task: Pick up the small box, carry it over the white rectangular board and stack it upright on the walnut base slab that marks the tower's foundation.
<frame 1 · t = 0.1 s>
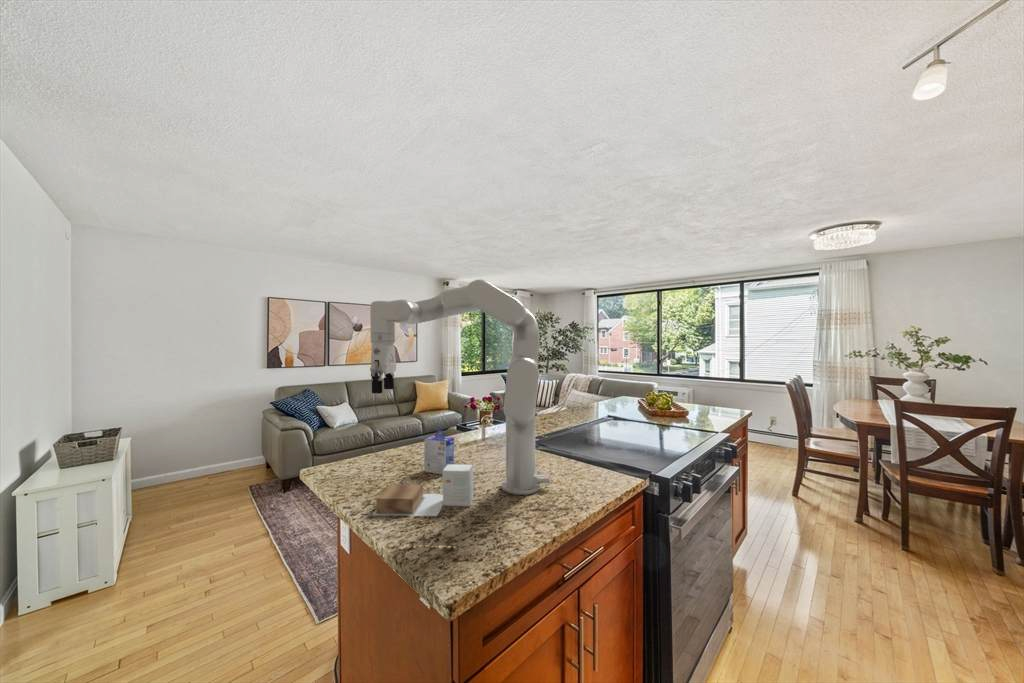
hand: (383, 391, 122), 31 cm above the worktop, fingers open, 9 cm apart
white rectangular board: (412, 505, 107), on the worktop
base slab: (400, 505, 107), resting on white rectangular board
ink cartridge box: (439, 471, 135), on the worktop
small box: (458, 503, 109), on the worktop
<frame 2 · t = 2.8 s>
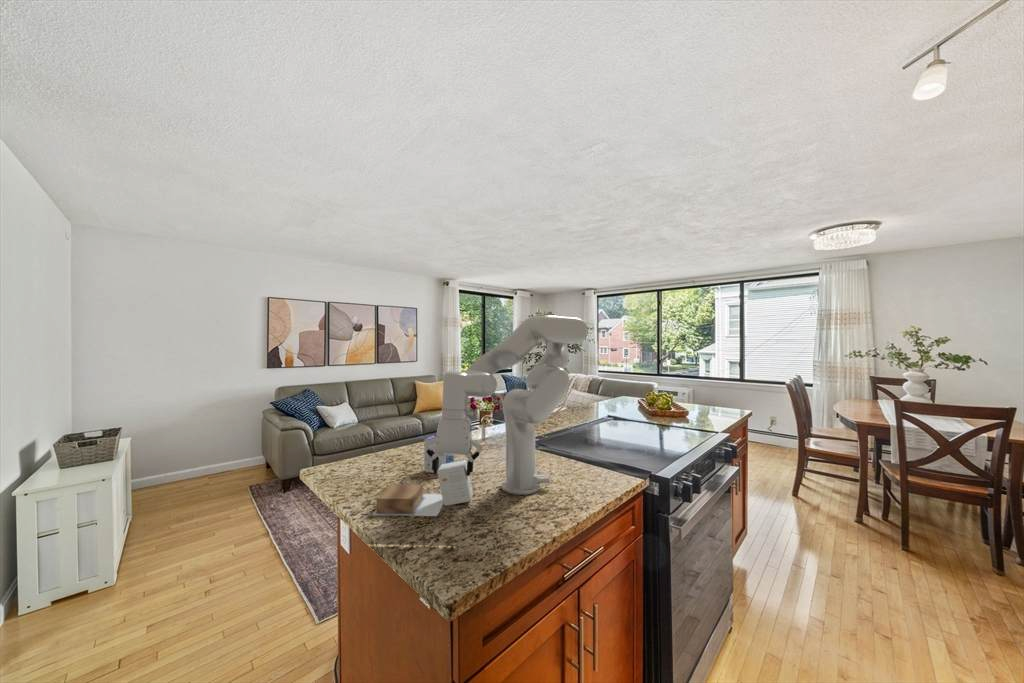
hand: (452, 473, 108), 9 cm above the worktop, fingers open, 9 cm apart
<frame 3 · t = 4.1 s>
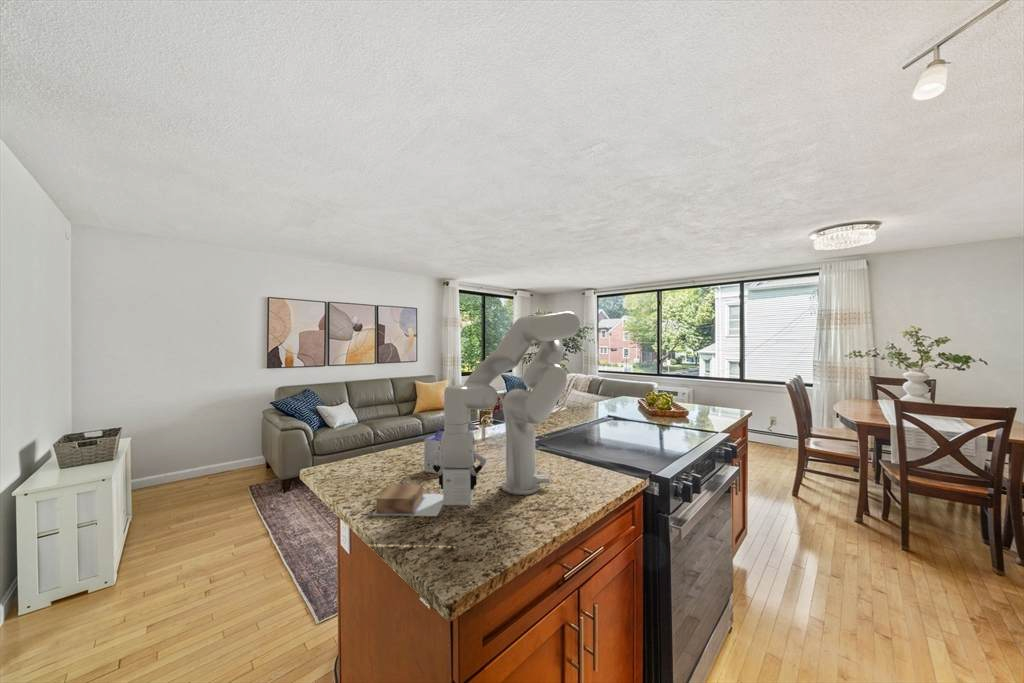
hand: (457, 487, 109), 5 cm above the worktop, fingers closed on small box, 8 cm apart
small box: (458, 503, 109), on the worktop, touching gripper
everything else where it was.
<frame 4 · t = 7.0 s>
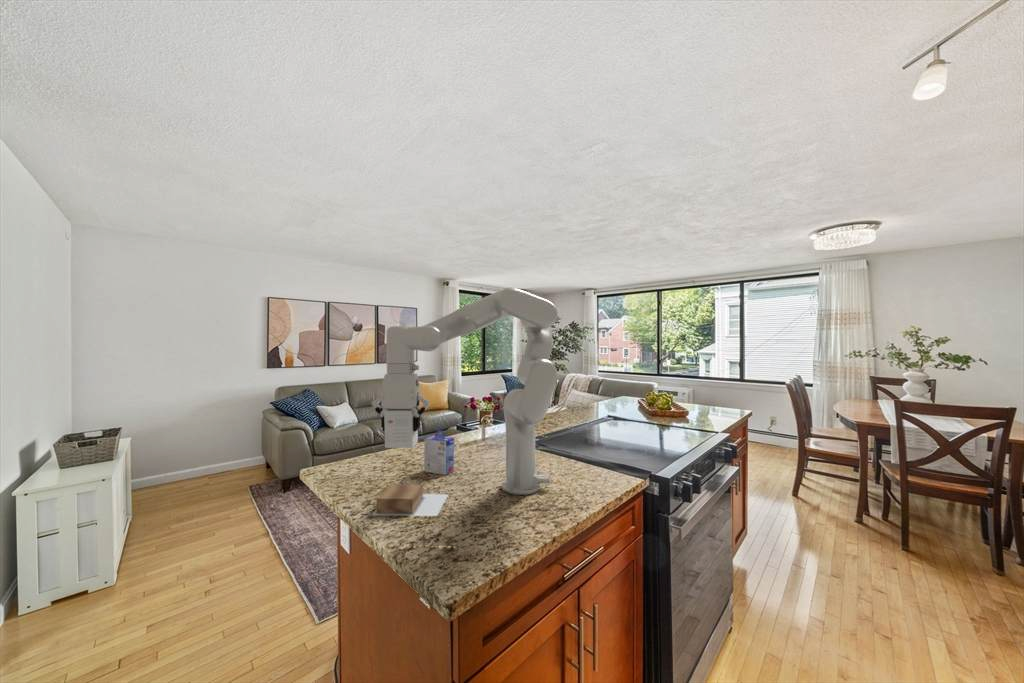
hand: (400, 429, 106), 22 cm above the worktop, fingers closed on small box, 8 cm apart
small box: (401, 446, 107), point 17 cm above the worktop, touching gripper
everything else where it was.
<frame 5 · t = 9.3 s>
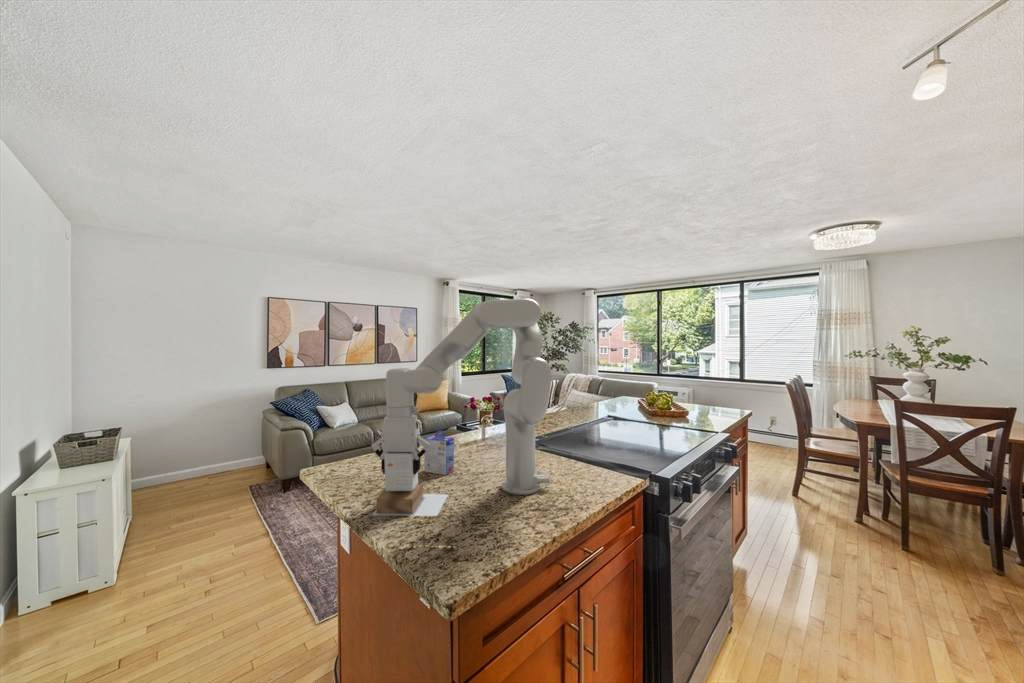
hand: (401, 472, 107), 10 cm above the worktop, fingers closed on small box, 8 cm apart
small box: (401, 488, 107), point 5 cm above the worktop, touching gripper
everything else where it was.
when the fingers open (10 cm above the worktop, at t = 10.3 s): small box stays where it is, resting on base slab.
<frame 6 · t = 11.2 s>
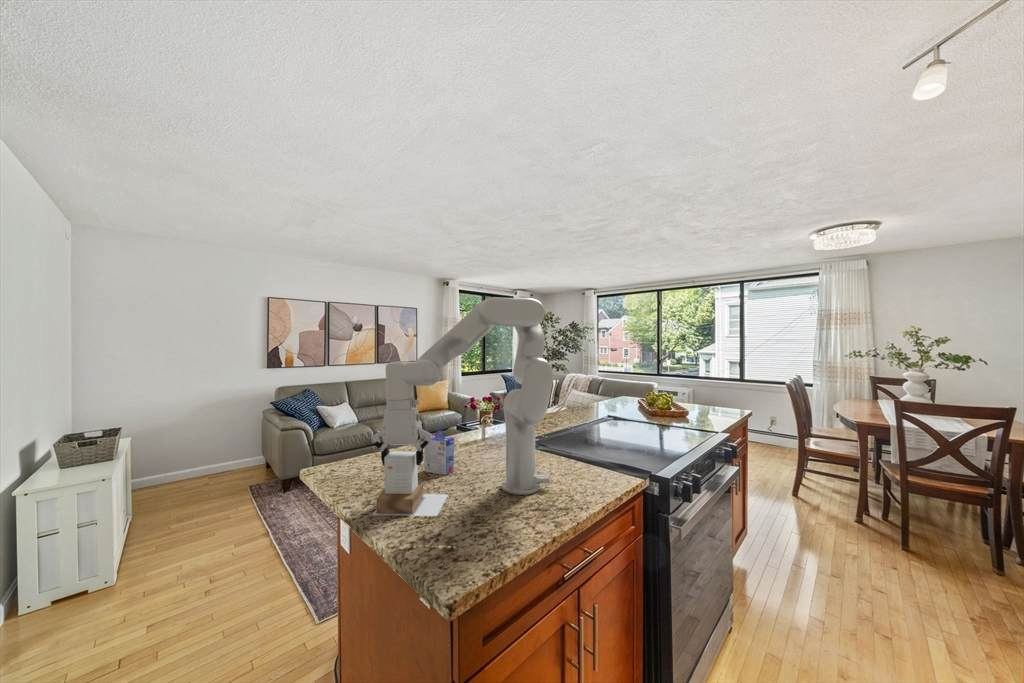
hand: (402, 463, 107), 12 cm above the worktop, fingers open, 9 cm apart
base slab: (400, 505, 107), resting on white rectangular board, touching small box
small box: (401, 491, 107), point 4 cm above the worktop, touching base slab, gripper
everything else where it was.
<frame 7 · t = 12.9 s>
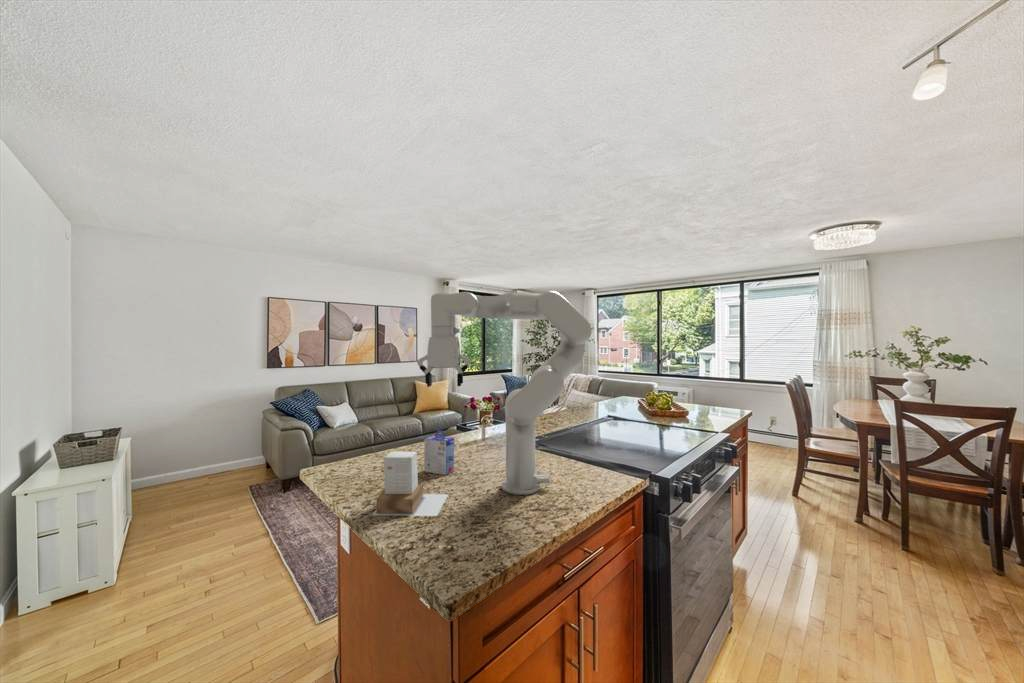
hand: (444, 386, 119), 33 cm above the worktop, fingers open, 9 cm apart
small box: (401, 491, 107), point 4 cm above the worktop, touching base slab
everything else where it was.
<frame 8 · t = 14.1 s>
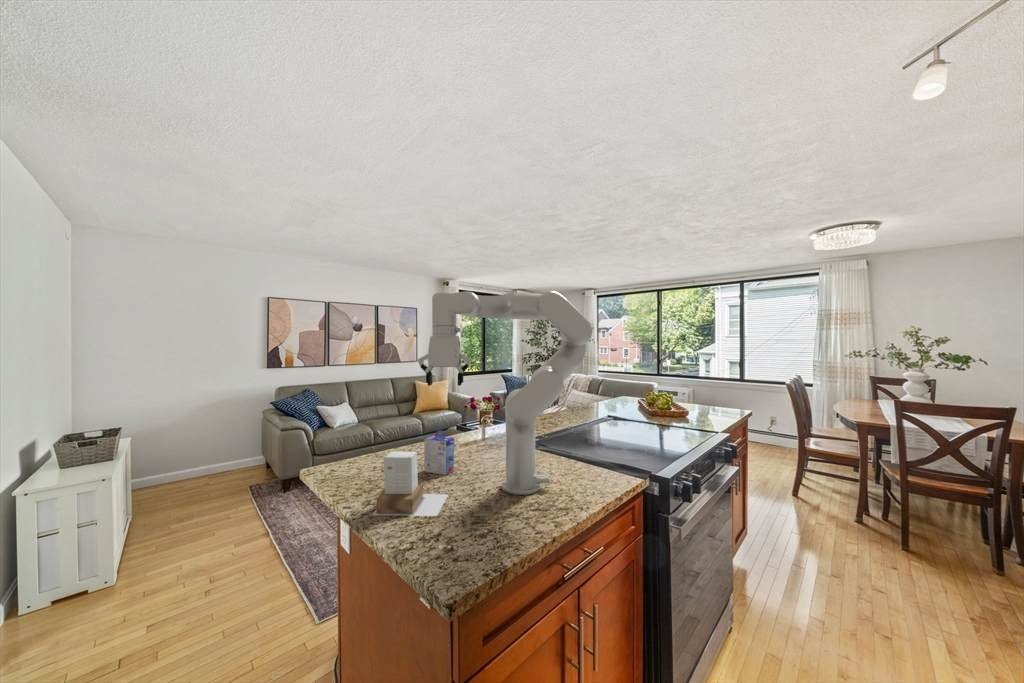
hand: (444, 385, 119), 33 cm above the worktop, fingers open, 9 cm apart
nothing on the worktop moved.
at the end: small box inside the target area on the base slab (0.5 cm from its centre), point 3.8 cm above the base slab's base; small box tilted 0°; the gripper is holding nothing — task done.
